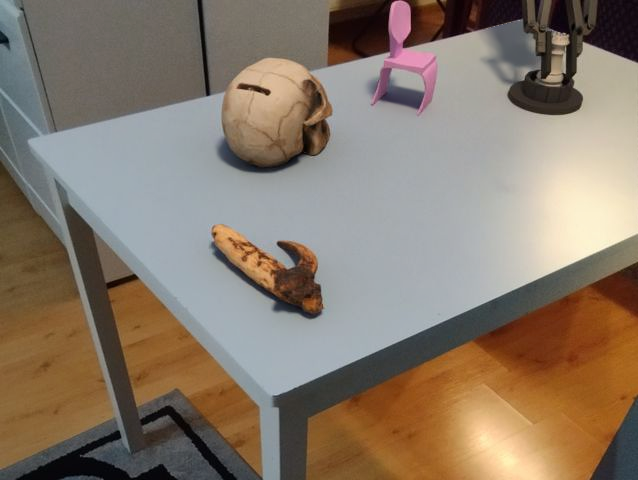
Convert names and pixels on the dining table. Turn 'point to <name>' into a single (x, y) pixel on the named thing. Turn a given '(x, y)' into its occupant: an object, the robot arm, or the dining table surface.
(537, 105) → the socket pad
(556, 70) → the rook chess piece
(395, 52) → the toy chair
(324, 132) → the coin bank
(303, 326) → the dining table surface
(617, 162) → the dining table surface
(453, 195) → the dining table surface
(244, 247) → the lashed bone hook
